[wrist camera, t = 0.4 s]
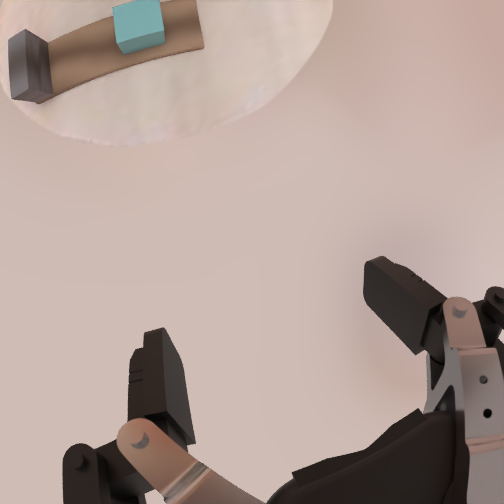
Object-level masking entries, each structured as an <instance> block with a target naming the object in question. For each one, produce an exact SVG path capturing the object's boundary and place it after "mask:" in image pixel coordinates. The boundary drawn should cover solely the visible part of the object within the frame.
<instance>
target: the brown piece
mask: <svg viewBox="0 0 504 504" xmlns="http://www.w3.org/2000/svg"><path fill="white" fill-rule="evenodd" d="M160 8H161V14H162V21H163V26H164V36H165V44H162V45H158V46H154V47H150V48H146V49H143V50H139V51H136V52H132V53H129V54H126V55H124V54H123V52H122V51H121V49H120V48H119V46H118V45H117V42H116V34H115V26H114V17H113V16H111V17H108V18H105V19H102V20H99V21H97V22H94V23H91V24H89V25H86V26H84V27H82V28H79V29H77V30H74V31H72V32H70V33H68V34H66V35H63V36H61V37H59V38H57V39H55V40H53V41H51V42H49V43H47V42H46V41H44V40H42V39H41V38H39V37H38V36H36V35H34V34H33V33H31V32H30V31H28V30H26V29H25V30H23V31H21V32H20V33H18V34H16V35H15V36H13V37H12V38H10V39H9V40H8V56H9V77H10V89H11V98H12V99H14V100H23V101H30V102H36V104H41V103H42V102H44V101H46V100H48V99H50V98H52V97H54V96H56V95H58V94H60V93H63V92H65V91H67V90H69V89H71V88H73V87H76V86H78V85H80V84H83V83H85V82H88V81H90V80H93V79H95V78H98V77H100V76H103V75H106V74H109V73H111V72H114V71H117V70H120V69H123V68H126V67H129V66H133V65H136V64H139V63H143V62H146V61H150V60H154V59H157V58H161V57H165V56H170V55H174V54H178V53H183V52H188V51H193V50H199V49H203V48H204V42H203V37H202V32H201V27H200V22H199V17H198V12H197V7H196V2H195V0H171V1H166V2H161V3H160Z"/></svg>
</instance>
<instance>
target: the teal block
mask: <svg viewBox="0 0 504 504" xmlns="http://www.w3.org/2000/svg"><path fill="white" fill-rule="evenodd" d="M113 17H114V26H115V34H116V42H117V45H118V46H119V48H120V49H121V51H122V52H123V54H124V55H126V54H129V53H132V52H136V51H139V50H143V49H146V48H150V47H154V46H158V45H162V44H165V36H164V26H163V21H162V14H161V8H160V2H159V0H137V1H133V2H130V3H126V4H123V5H120V6H117V7H114V8H113Z"/></svg>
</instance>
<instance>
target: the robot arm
mask: <svg viewBox="0 0 504 504" xmlns="http://www.w3.org/2000/svg"><path fill="white" fill-rule="evenodd" d="M363 295H364V299H365V301H366V304H367V305H368V306H369V307H370V308H371V309H372V310H373V311H374V312H375V313H376V315H377V316H378V317H380V319H381V320H382V321H383V322H384V323H385V324H386V325H387V326H388V327H389V328H390V329H391V330H392V331H393V332H394V333H395V334H396V335H397V336H398V337H399V338H400V339H401V340H402V342H403V343H405V345H406V346H407V347H408V348H409V349H410V350H411V351H412V352H413V353H414V354H415V355H417V354H418V353H420V352H421V351H423V350H426V351H427V352H428V353H427V356H426V365H427V401H426V404H425V407H424V411H423V414H422V412H421V411H420V410H419V409H416V410H415V411H413V412H412V413H410V414H409V415H407V416H406V417H404V418H403V419H401V420H399V421H398V422H396V423H394V424H393V425H392V426H390V427H389V428H388V429H387V430H386V431H385V432H384V433H383V434H382V435H381V436H380V437H379V438H378V439H377V440H376V441H375V442H374V443H372V444H371V445H370V446H369V447H368V448H366V449H364V450H362V451H358V452H354V453H350V454H346V455H341V456H337V457H332V458H327V459H325V460H322V461H320V462H317V463H315V464H312V465H310V466H307V467H305V468H302V469H299V470H297V471H294V472H292V475H293V479H292V480H290V481H289V482H287V483H285V484H284V485H283V486H282V487H280V488H279V489H278V490H277V491H276V492H275V493H274V494H273V495H272V496H271V498H270V499H269V500H268V501H267V503H264V502H262V501H260V500H259V499H257V498H255V497H253V496H252V495H250V494H248V493H246V492H245V491H243V490H242V489H240V488H238V487H237V486H235V485H234V484H232V483H231V482H229V481H228V480H226V479H225V478H223V477H222V476H220V475H219V474H217V473H216V472H214V471H213V470H212V469H210V468H209V467H207V466H206V465H204V464H203V463H201V462H199V461H198V460H197V459H195V458H194V457H193V456H191V455H190V454H189V453H188V449H187V445H191V444H195V443H196V441H195V436H194V430H193V425H192V419H191V414H190V407H189V401H188V395H187V388H186V381H185V375H184V368H183V364H182V361H181V358H180V356H179V354H178V352H177V350H176V348H175V347H174V345H173V343H172V341H171V339H170V337H169V335H168V333H167V331H166V329H165V328H159V329H156V330H152V331H148V332H145V333H144V342H143V348H139V349H135V351H134V353H133V355H132V357H131V359H130V365H129V366H130V367H129V373H130V375H129V385H128V421H127V423H125V424H124V425H123V426H122V427H121V429H120V430H119V432H118V435H117V439H116V440H114V441H112V442H110V443H108V444H106V445H103V446H101V447H99V448H96V449H93V448H91V447H90V446H88V445H86V444H82V443H79V444H75V445H73V446H71V447H70V448H69V449H68V450H67V451H66V453H65V455H64V457H63V503H64V504H146V500H145V495H144V494H145V493H147V492H149V491H152V490H154V489H156V490H157V491H158V492H159V493H160V494H161V495H162V496H163V497H164V501H165V503H166V504H504V344H503V343H502V342H501V341H500V340H499V339H498V337H499V335H500V333H501V331H502V329H504V288H501V287H496V286H495V287H491V288H489V289H488V290H487V291H486V294H485V297H484V300H480V301H477V302H473V303H471V302H470V301H469V300H467V299H465V298H462V297H451V298H447V297H445V296H444V295H443V294H441V293H440V292H439V291H438V290H436V289H435V288H434V287H432V286H431V285H430V284H429V283H427V282H426V281H425V280H424V281H423V280H422V278H421V277H419V276H418V275H416V274H415V273H414V272H413V271H411V270H410V269H408V268H407V267H404V266H402V265H399V264H396V263H395V264H394V263H393V262H391V261H390V260H389V259H387V258H386V257H384V256H380V257H377V258H375V259H372V260H370V261H367V262H366V263H365V266H364V286H363Z"/></svg>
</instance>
